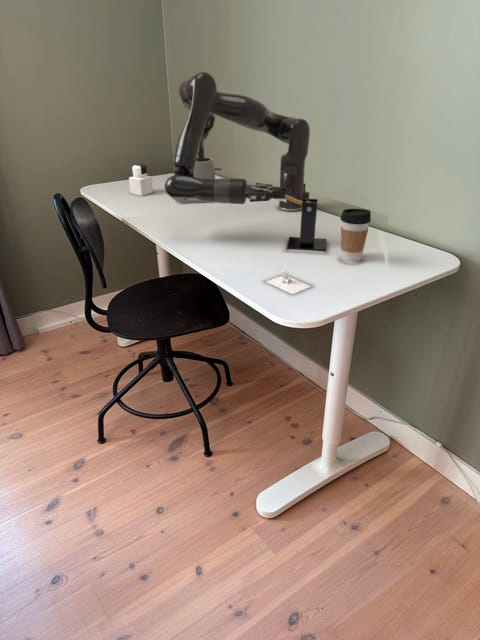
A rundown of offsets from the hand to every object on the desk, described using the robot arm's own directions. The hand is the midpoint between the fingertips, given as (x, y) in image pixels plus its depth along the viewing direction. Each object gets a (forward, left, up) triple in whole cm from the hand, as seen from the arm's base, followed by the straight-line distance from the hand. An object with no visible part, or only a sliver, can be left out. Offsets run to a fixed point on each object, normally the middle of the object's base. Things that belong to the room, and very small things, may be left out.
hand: (285, 193), depth 144 cm
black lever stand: (-5, +5, -17) cm, 18 cm away
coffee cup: (-8, +21, -17) cm, 28 cm away
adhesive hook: (+18, +23, -17) cm, 34 cm away
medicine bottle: (+9, -87, -17) cm, 89 cm away
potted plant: (-10, -68, -17) cm, 70 cm away
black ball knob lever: (-1, +1, -4) cm, 4 cm away
